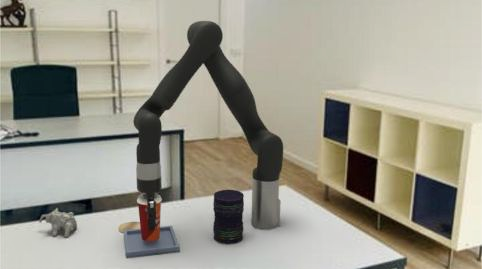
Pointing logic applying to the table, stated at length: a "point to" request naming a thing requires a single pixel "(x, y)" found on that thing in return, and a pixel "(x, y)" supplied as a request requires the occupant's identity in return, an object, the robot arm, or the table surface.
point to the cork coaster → (129, 226)
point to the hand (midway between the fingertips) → (150, 225)
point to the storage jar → (228, 216)
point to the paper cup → (145, 233)
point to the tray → (150, 243)
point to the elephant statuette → (60, 221)
